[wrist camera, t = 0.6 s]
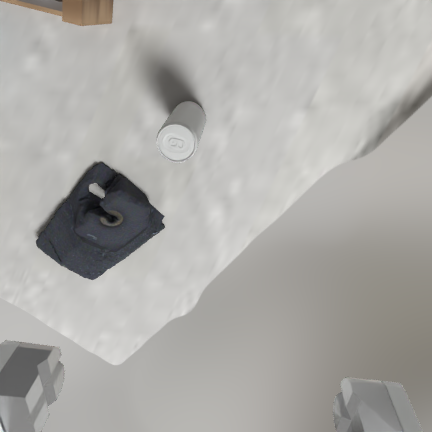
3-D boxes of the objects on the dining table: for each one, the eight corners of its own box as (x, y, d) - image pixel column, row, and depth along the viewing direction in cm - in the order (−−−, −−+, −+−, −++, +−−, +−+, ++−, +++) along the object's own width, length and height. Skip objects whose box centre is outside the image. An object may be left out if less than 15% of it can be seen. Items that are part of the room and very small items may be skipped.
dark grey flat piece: (27, 230, 64) (12, 245, 60) (106, 153, 56) (95, 165, 51) (94, 282, 69) (84, 299, 65) (175, 219, 61) (170, 235, 57)
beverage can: (176, 96, 50) (159, 118, 40) (209, 105, 50) (201, 129, 40) (170, 129, 52) (152, 157, 42) (202, 137, 53) (192, 168, 42)
